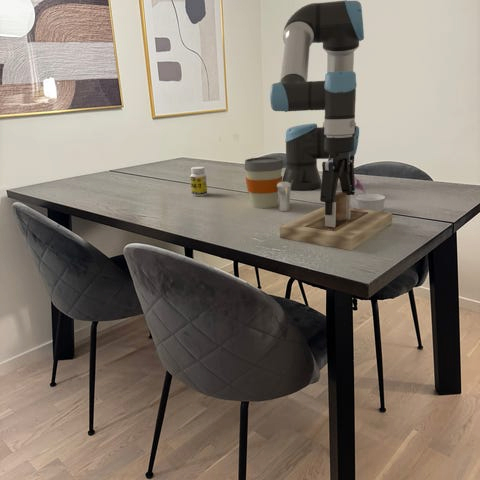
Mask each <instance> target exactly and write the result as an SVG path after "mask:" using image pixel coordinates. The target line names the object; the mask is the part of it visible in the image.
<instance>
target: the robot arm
mask: <svg viewBox="0 0 480 480" xmlns="http://www.w3.org/2000/svg"><path fill="white" fill-rule="evenodd" d="M364 30H365V29H364V20H363V9H362V3H361V2H360V1H358V0H337V1H324V2H312V3H308V4H306V5H304V6H302V7H301V8H299V9H297V10H296V11H295V12H294V13H293V14H292V15H291V16H290V18H288V20H287V22H286V24H285V25H284V28H283V31H282V32H283V33H282V40H283V44H284V49H283V58H282V64H281V73H280V79H279V81H278V82H275V83H272V84H271V86H270V90H269V91H270V93H269V94H270V95H269V96H270V97H269V99H270V107H271V109H272V110H273V111H274V112H285V113H286V112H300V111H301V112H302V111H324V121H323V123H322V127H321V126H319V127H318V124H317V123H306V124H300V125H295V126H291V127H288V128H287V129H286V131H285V140H284V142H285V162H286V163H285V170H284V174H283V175H282V182H289V183H290V184H291V191H311V190H317V189H319V188H320V198H319V199H320V200H319V201H320V202H321V203H324V206H325V226H328V227H336V202H334V199H335V194H336V192H337V188H338V184H340V185H339V186H340V188H341V192H343V193H346V194H347V200H346V219H350V208H351V199H352V198H351V197H352V196H354V195H355V193H356V192H355V189H356V188H355V179H354V176H355V165H354V164H355V155H356V153H357V150H358V145H359V138H360V127H359V126H357V123H356V119H355V118H356V101H357V99H356V98H357V97H356V95H357V74H356V72H355V71H354V62H355V61H354V59H355V58H354V57H355V51H356V50H358V48H359V47H360V42H361V41H363V40H365V34H364V32H365V31H364ZM316 43H317V44H321V43H322V49H323V50H324V52H326V53H327V59H326V60H327V62H326V63H327V64H326V65H327V67H326V68H327V69H326V73H325V76H324V77H325V78H324V80H311V81H310V80H309V81H308V72H309V60H310V50H311V49H310V48H311V46H312V44H316ZM318 160H327V161H323V162H322V164H321V168H322V174H321V175H322V176H320V173H319V170H318V165H317V163H318ZM292 180H293V181H292ZM291 182H292V183H291Z"/></svg>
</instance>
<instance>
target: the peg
mask: <svg viewBox="0 0 480 480" xmlns="http://www.w3.org/2000/svg"><path fill="white" fill-rule="evenodd" d="M346 200H347V194H346V193H343V192H342V191H336V194H335V199H334V202H336V227H338V226H340V225H342V224H344V223H345V222H346ZM336 227H329V228H330V229H334V228H336Z"/></svg>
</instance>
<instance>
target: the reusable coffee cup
mask: <svg viewBox="0 0 480 480" xmlns="http://www.w3.org/2000/svg"><path fill="white" fill-rule="evenodd" d="M283 164H284V163H283V159H282V157H275V156H270V157H269V156H261V157H260V156H259V157H251V158H246V159H245V160H244V170H245V175H246V176H245V181H246V189H247V192H248V193H249V199H250V205H251V207H252V208H256V209H270V208H274V207H277V206H279V204H278V193H277V184H278V183H279V182H282V179H283V175H282V173H283V172H282V171H283V168H284V165H283Z"/></svg>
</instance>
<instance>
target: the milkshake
mask: <svg viewBox="0 0 480 480" xmlns="http://www.w3.org/2000/svg"><path fill="white" fill-rule="evenodd" d="M292 181H293V180H292ZM291 183H292V182H291ZM277 193H278V211H280V212H288V211H290V208H291V207H290V203H291V193H292V190H291V184H290V183H289V182H279V183H278V184H277Z"/></svg>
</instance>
